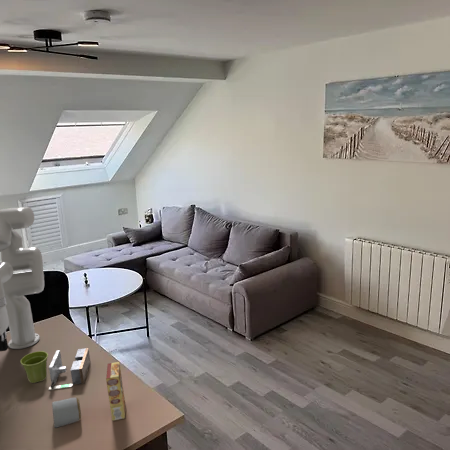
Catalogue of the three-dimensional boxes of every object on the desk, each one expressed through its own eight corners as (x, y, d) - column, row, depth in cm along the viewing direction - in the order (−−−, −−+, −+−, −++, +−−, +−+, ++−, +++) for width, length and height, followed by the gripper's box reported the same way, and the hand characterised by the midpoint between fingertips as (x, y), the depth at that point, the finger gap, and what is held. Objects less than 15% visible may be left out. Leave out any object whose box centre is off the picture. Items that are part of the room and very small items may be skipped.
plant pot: (56, 373, 159) (53, 352, 157) (38, 387, 150) (34, 366, 148) (37, 369, 162) (33, 349, 160) (18, 383, 153) (14, 362, 151)
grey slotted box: (48, 390, 148) (46, 375, 147) (59, 365, 164) (56, 351, 162) (83, 385, 150) (81, 370, 149) (90, 361, 165) (88, 348, 164)
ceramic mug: (83, 424, 130) (79, 402, 129) (55, 433, 127) (51, 411, 125) (79, 405, 140) (76, 385, 138) (53, 413, 136) (49, 392, 135)
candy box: (125, 419, 132) (119, 376, 128) (111, 421, 131) (105, 378, 127) (125, 401, 140) (120, 361, 136) (112, 404, 139) (106, 363, 136)
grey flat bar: (50, 388, 149) (47, 371, 147) (59, 366, 163) (56, 350, 161) (61, 387, 149) (58, 369, 148) (69, 365, 163) (67, 349, 161)
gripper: (-9, 296, 154) (-1, 341, 158) (-27, 312, 139) (-17, 362, 143) (12, 294, 155) (20, 339, 159) (-3, 309, 140) (6, 359, 144)
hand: (2, 349), depth 151 cm, fingers closed
